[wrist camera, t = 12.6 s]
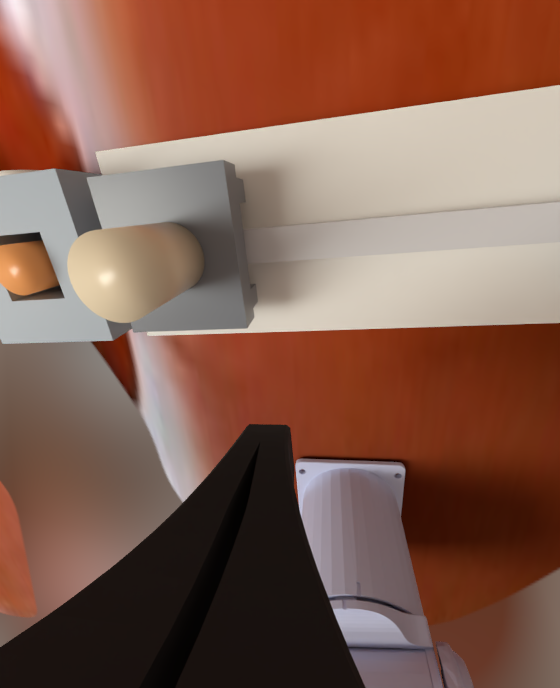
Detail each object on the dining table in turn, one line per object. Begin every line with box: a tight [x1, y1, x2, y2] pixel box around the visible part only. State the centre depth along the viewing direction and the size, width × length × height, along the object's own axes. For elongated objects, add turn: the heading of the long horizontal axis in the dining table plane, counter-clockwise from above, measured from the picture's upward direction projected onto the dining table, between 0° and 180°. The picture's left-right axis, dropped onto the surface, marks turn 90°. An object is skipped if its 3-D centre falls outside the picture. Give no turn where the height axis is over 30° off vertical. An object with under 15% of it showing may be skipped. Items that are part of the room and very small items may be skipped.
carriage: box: [67, 160, 258, 332], centre depth 13 cm, size 7×6×7 cm
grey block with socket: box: [0, 169, 132, 344], centre depth 17 cm, size 8×7×4 cm
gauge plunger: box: [0, 240, 60, 295], centre depth 16 cm, size 2×2×4 cm
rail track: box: [95, 85, 560, 336], centre depth 15 cm, size 10×24×4 cm, turn 95°
